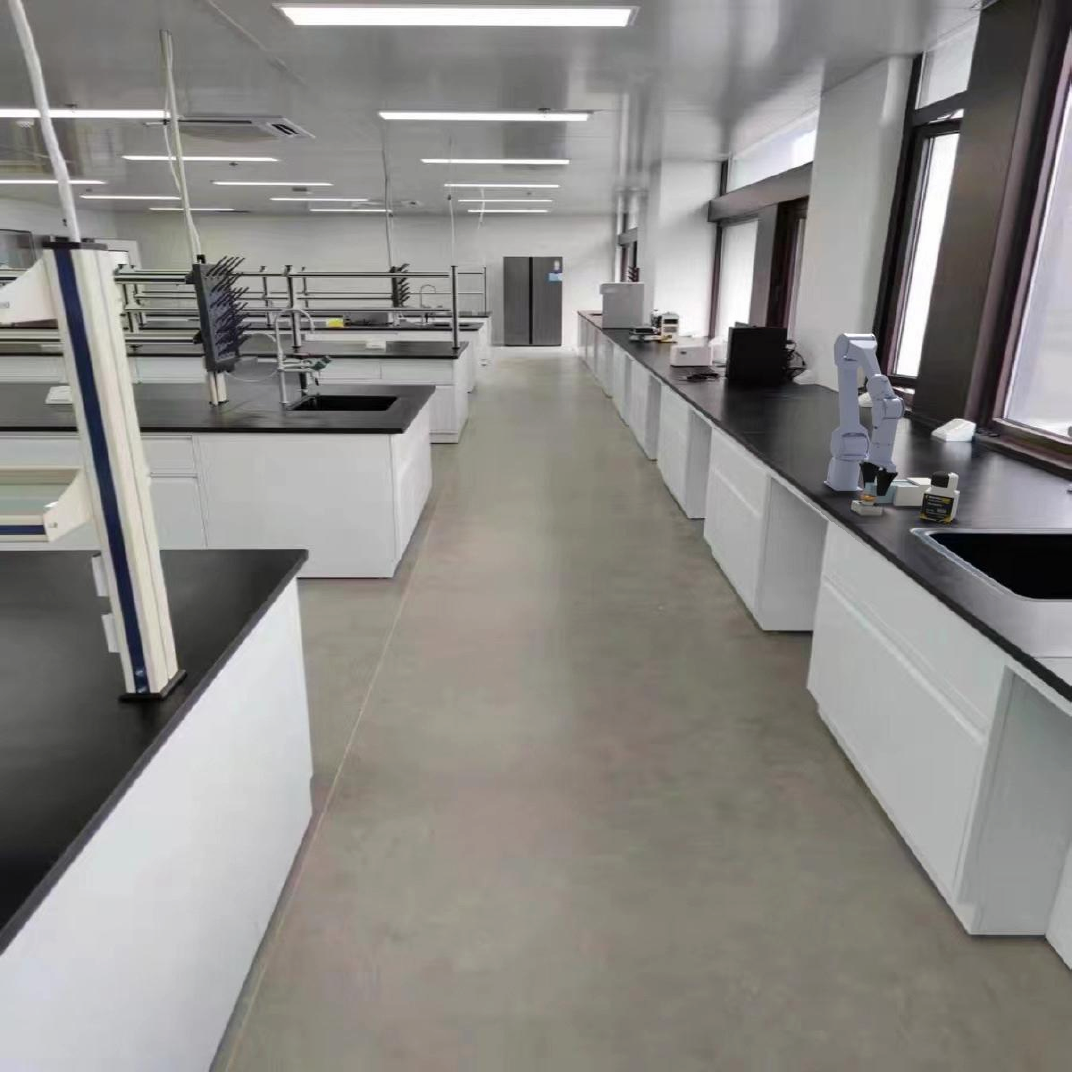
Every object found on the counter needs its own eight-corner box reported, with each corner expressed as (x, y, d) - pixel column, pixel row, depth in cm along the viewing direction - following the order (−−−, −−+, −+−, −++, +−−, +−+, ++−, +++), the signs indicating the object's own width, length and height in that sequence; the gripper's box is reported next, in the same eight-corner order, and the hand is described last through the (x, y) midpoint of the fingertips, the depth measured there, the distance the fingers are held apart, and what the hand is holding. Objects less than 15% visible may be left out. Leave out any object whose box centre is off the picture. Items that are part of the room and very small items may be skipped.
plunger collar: (850, 509, 203) (852, 500, 202) (871, 509, 203) (872, 500, 202) (860, 515, 198) (861, 506, 197) (881, 516, 198) (882, 506, 197)
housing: (881, 498, 214) (885, 477, 212) (923, 498, 215) (927, 477, 213) (894, 506, 207) (898, 484, 205) (937, 506, 208) (942, 484, 206)
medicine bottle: (918, 518, 197) (927, 472, 193) (925, 512, 202) (933, 468, 198) (949, 523, 193) (958, 477, 189) (955, 517, 198) (964, 472, 194)
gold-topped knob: (856, 508, 202) (858, 493, 201) (870, 508, 202) (872, 494, 201) (862, 512, 198) (864, 497, 197) (876, 512, 198) (879, 498, 197)
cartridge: (862, 499, 212) (865, 482, 210) (921, 499, 213) (924, 482, 211) (868, 503, 208) (871, 485, 207) (929, 503, 209) (932, 486, 207)
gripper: (855, 437, 212) (848, 485, 216) (880, 448, 198) (872, 499, 202) (880, 437, 212) (872, 485, 216) (907, 448, 198) (898, 499, 202)
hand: (874, 492), depth 209 cm, fingers open, 7 cm apart
